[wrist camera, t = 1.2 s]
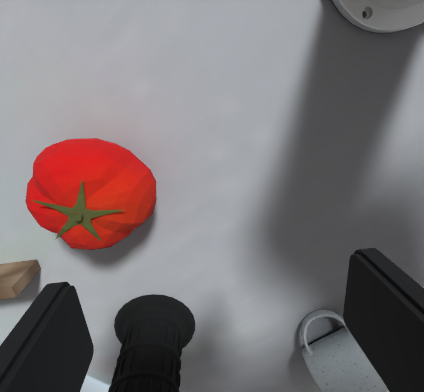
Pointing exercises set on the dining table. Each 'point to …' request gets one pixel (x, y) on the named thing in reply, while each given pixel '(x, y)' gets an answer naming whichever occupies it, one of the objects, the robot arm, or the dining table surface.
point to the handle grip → (151, 344)
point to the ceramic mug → (338, 360)
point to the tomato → (90, 192)
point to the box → (16, 277)
